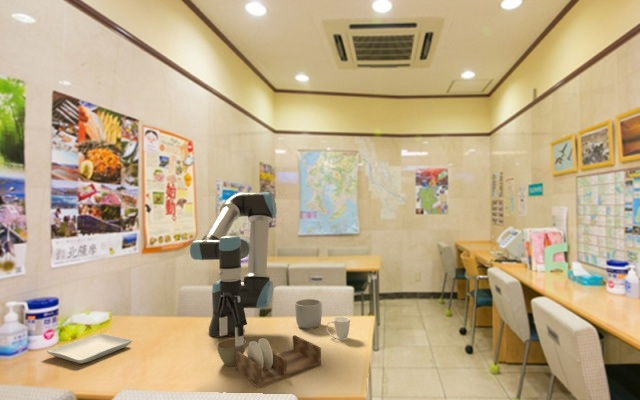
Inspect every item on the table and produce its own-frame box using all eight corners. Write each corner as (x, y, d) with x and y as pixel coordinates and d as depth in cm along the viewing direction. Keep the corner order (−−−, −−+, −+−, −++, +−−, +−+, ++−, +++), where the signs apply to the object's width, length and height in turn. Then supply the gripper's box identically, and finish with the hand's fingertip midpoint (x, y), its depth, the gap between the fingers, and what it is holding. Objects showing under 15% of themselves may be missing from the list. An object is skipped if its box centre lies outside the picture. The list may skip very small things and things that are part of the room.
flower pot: (236, 355, 133) (235, 335, 133) (251, 362, 126) (251, 342, 126) (211, 363, 125) (211, 343, 126) (227, 372, 118) (226, 350, 119)
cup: (349, 342, 143) (349, 321, 143) (325, 341, 144) (325, 321, 145) (351, 335, 150) (351, 316, 150) (328, 335, 151) (327, 316, 152)
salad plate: (134, 347, 144) (134, 338, 144) (80, 369, 124) (80, 359, 125) (100, 340, 153) (100, 332, 153) (45, 359, 133) (45, 350, 133)
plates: (247, 367, 119) (247, 337, 120) (258, 363, 122) (258, 334, 122) (261, 378, 112) (261, 346, 112) (273, 374, 114) (272, 342, 114)
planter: (322, 330, 157) (321, 305, 158) (294, 331, 157) (293, 306, 158) (322, 321, 170) (321, 298, 170) (296, 322, 170) (296, 299, 170)
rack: (236, 369, 120) (236, 351, 120) (295, 351, 135) (294, 335, 135) (259, 387, 108) (258, 367, 108) (321, 365, 122) (320, 347, 122)
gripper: (207, 276, 134) (208, 333, 133) (235, 286, 114) (236, 353, 113) (226, 274, 138) (227, 329, 138) (256, 282, 119) (257, 347, 118)
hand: (231, 340), depth 125 cm, fingers open, 13 cm apart
